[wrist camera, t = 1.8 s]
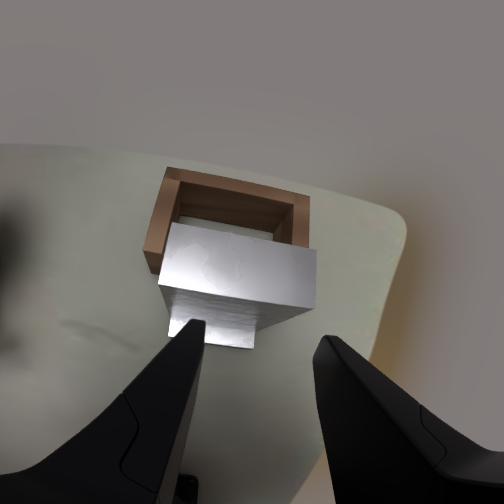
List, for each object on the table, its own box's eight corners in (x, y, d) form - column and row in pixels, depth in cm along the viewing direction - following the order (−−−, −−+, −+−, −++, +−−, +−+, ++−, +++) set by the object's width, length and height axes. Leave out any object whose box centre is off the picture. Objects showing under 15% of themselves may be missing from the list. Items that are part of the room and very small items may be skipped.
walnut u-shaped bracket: (282, 295, 23) (307, 279, 18) (151, 273, 21) (142, 250, 17) (287, 225, 25) (309, 196, 21) (168, 202, 23) (167, 166, 19)
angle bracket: (250, 349, 21) (312, 340, 11) (169, 336, 20) (151, 317, 10) (257, 284, 22) (317, 223, 12) (180, 271, 21) (178, 195, 11)
